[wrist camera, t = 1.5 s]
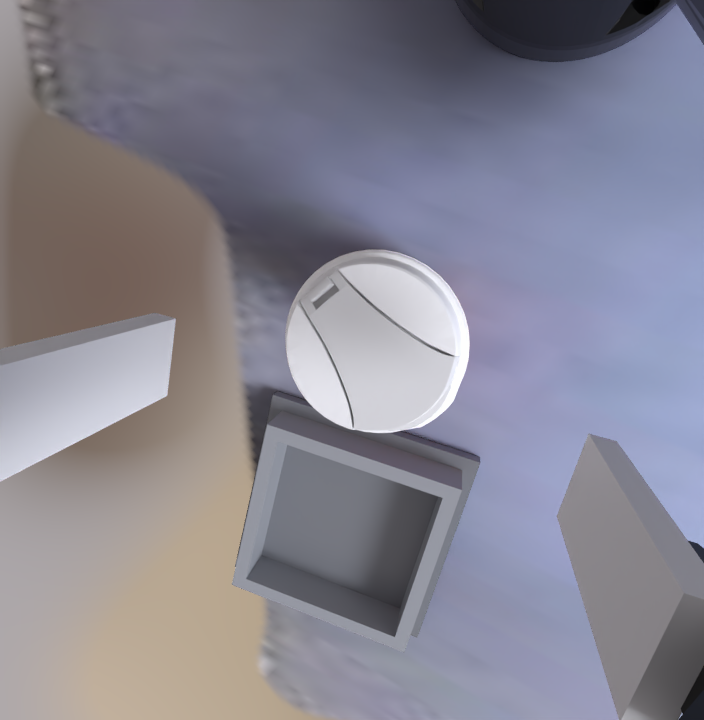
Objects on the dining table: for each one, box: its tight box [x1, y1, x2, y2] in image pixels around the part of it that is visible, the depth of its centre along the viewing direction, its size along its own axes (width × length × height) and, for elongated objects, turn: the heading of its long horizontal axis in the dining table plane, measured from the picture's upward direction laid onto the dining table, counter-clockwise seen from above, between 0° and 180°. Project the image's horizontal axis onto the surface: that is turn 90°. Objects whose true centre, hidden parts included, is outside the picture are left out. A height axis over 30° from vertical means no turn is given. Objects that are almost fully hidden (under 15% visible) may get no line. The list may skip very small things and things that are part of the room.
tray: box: [232, 391, 480, 652], centre depth 37 cm, size 16×16×4 cm
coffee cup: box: [285, 250, 470, 433], centre depth 28 cm, size 8×8×15 cm
